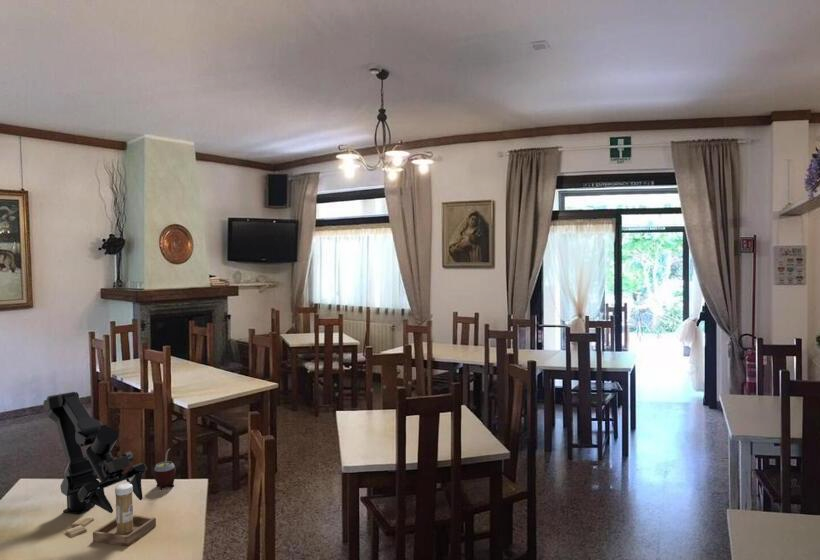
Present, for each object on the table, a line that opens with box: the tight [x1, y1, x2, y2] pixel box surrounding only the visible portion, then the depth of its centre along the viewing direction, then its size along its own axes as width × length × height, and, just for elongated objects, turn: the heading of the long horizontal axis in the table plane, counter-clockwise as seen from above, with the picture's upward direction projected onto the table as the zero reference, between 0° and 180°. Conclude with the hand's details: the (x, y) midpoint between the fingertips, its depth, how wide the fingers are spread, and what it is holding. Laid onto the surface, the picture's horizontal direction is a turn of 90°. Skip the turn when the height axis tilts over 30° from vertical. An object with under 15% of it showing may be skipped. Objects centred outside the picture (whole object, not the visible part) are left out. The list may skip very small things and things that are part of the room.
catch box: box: [92, 514, 157, 547], centre depth 163 cm, size 12×12×2 cm
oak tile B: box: [65, 525, 88, 538], centre depth 164 cm, size 4×4×1 cm
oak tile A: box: [71, 517, 95, 528], centre depth 169 cm, size 4×4×1 cm
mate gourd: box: [153, 447, 177, 491], centre depth 195 cm, size 8×8×15 cm
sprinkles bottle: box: [114, 482, 134, 534], centre depth 163 cm, size 5×5×14 cm
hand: (127, 505), depth 162 cm, fingers open, 9 cm apart
